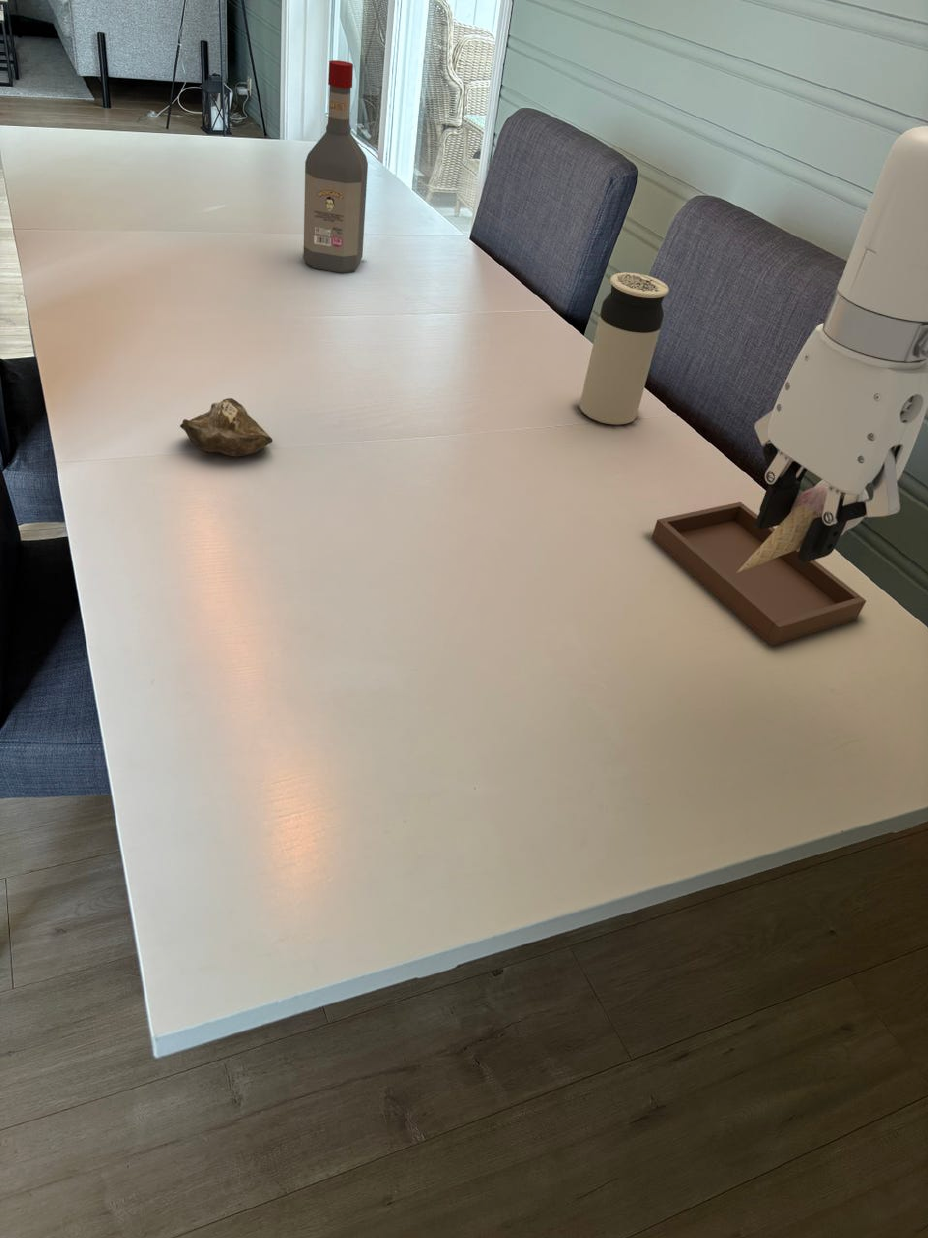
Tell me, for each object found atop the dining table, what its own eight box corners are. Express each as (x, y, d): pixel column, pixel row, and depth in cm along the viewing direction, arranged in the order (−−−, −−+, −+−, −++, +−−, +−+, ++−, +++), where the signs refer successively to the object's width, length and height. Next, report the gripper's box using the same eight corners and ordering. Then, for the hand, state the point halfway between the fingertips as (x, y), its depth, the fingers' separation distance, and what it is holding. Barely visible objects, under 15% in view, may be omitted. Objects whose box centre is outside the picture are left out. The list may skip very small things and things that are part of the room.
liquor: (353, 275, 154) (365, 72, 135) (300, 266, 154) (304, 62, 135) (364, 258, 161) (376, 63, 142) (313, 249, 161) (318, 53, 142)
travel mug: (600, 429, 122) (633, 296, 110) (567, 402, 127) (596, 272, 116) (646, 422, 125) (683, 292, 114) (613, 396, 130) (645, 269, 119)
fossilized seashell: (163, 434, 102) (241, 472, 101) (185, 378, 100) (265, 416, 100) (193, 439, 109) (266, 475, 108) (214, 387, 108) (288, 423, 107)
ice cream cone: (765, 604, 71) (885, 518, 76) (753, 550, 69) (876, 466, 74) (720, 594, 74) (836, 513, 80) (707, 542, 73) (827, 463, 78)
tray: (857, 618, 96) (866, 600, 94) (770, 646, 90) (779, 627, 89) (733, 519, 108) (740, 501, 107) (651, 537, 103) (657, 519, 101)
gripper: (1016, 372, 60) (900, 590, 72) (828, 280, 71) (752, 482, 83) (946, 385, 57) (835, 611, 69) (759, 287, 68) (690, 497, 79)
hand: (791, 539), depth 75 cm, fingers closed on ice cream cone, 4 cm apart
